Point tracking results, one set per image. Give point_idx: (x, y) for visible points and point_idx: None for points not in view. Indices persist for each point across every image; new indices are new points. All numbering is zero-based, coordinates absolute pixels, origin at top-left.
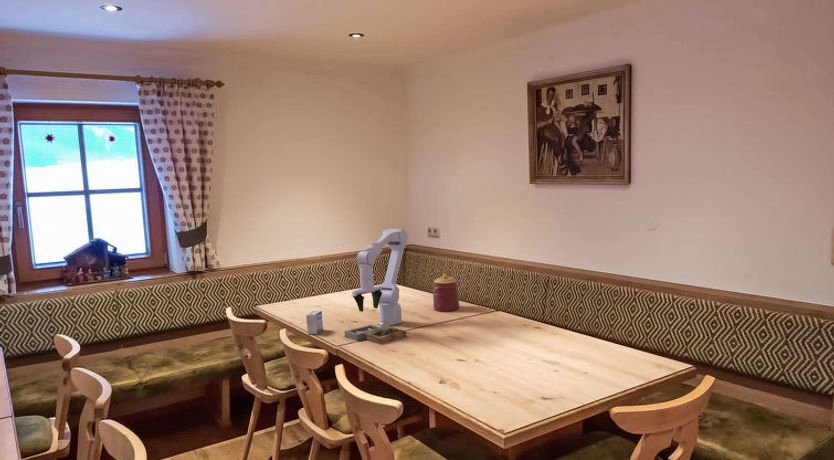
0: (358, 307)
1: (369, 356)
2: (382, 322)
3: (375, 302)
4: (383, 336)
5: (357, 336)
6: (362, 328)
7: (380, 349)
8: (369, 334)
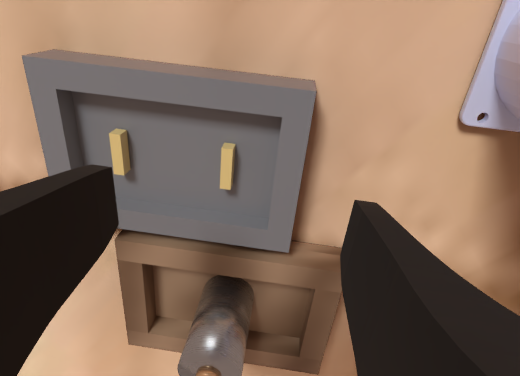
0: (46, 183)
1: (29, 371)
2: (191, 368)
3: (363, 302)
4: (166, 343)
5: None
6: (196, 104)
7: (105, 358)
8: (130, 268)
